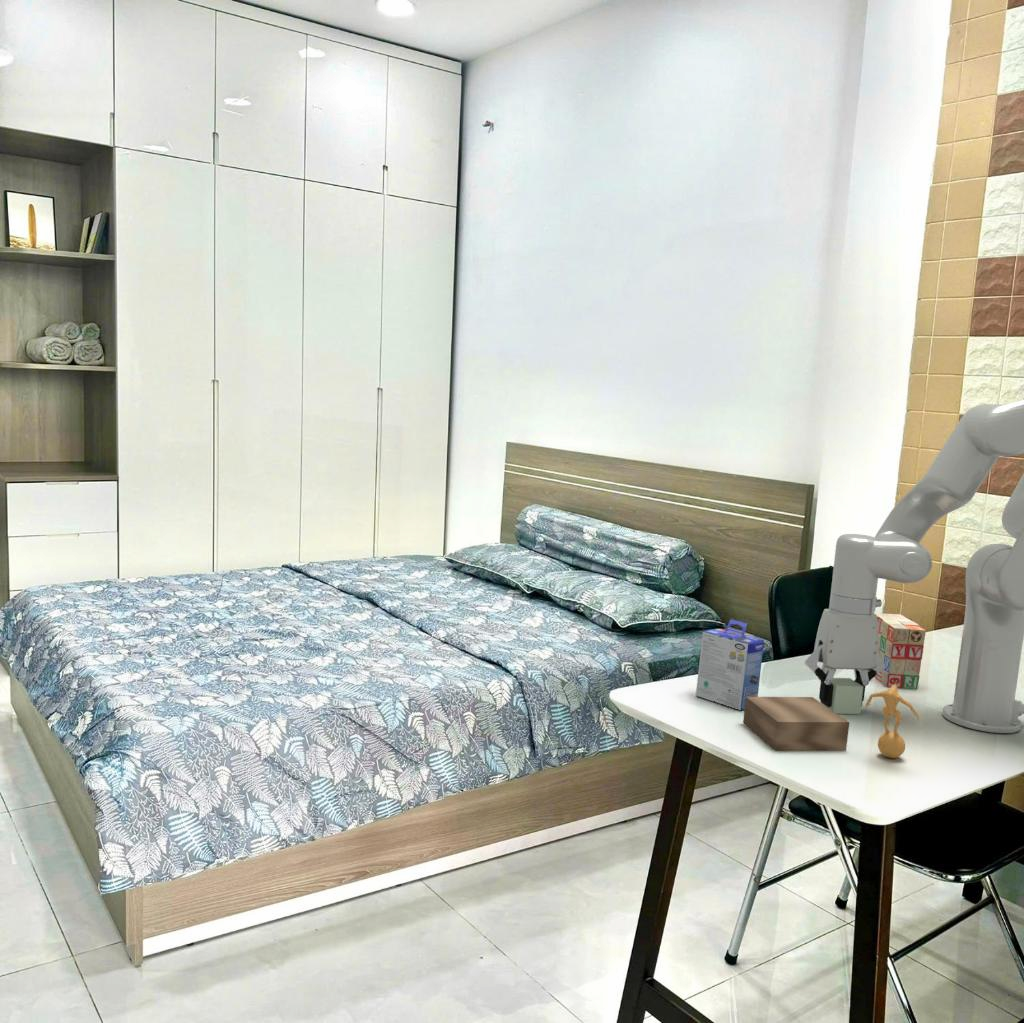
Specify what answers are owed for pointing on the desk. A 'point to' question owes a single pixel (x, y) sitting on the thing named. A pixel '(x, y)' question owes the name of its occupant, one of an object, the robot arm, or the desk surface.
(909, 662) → the stack of blocks
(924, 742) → the desk surface
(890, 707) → the figurine
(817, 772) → the desk surface
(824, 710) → the walnut block
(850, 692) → the sage cube
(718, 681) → the ink cartridge box
